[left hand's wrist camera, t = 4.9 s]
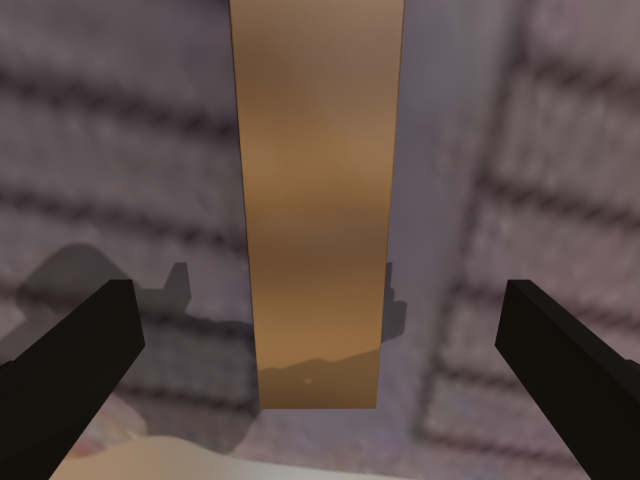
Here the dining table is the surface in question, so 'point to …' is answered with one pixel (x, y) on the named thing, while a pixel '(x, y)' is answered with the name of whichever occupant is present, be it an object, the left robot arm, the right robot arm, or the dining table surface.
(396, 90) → the post
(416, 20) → the dining table surface
